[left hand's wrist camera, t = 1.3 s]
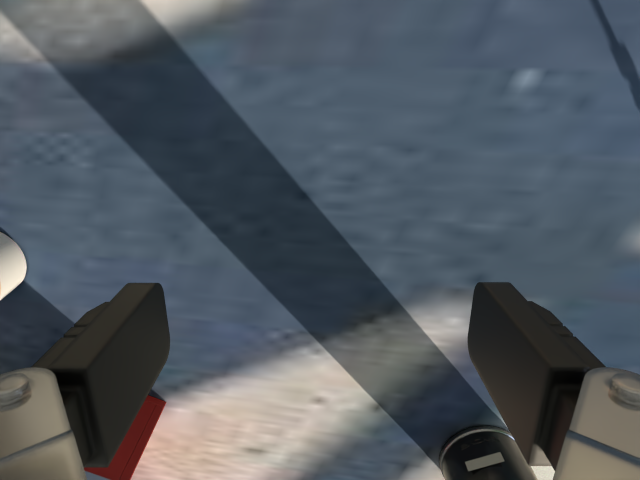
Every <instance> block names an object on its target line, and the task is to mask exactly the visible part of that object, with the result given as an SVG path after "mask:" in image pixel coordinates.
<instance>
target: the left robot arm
mask: <svg viewBox="0 0 640 480" xmlns="http://www.w3.org/2000/svg"><path fill="white" fill-rule="evenodd" d="M169 349H170V334H169V327H168V320H167V313H166V305H165V298H164V292H163V288H162V286H161V284H159V283H128V284H126V285H125V286H124V287H123V288H122V289H121V290H120V291H119V293H118V294H117V295H116V296H115V297H114V298H113V299H112V300H111V301H110V302H105V303H103V304H101V305H99V306H97V307H96V308H94V309H92V310H90V311H88V312H87V313H86V314H85V315H84V316H83V317H82V318H81V319H80V320H79V321H77V322H76V323H75V324H74V327H71V328H70V329H69V330H68V331H67V332H66V333H65V334H64V338H60V339H59V340H58V341H57V342H56V343H55V344H54V345H53V346H52V347H51V348H50V349H49V350H48V351H47V352H46V353H45V354H44V355H43V356H42V357H41V358H40V359H39V360H38V361H37V362H36V363H35V364H34V365H33V366H32V367H30V368H22V369H17V370H13V371H10V372H6V373H4V374H1V375H0V480H87V477H86V474H85V471H84V468H108V467H109V465H110V463H111V461H112V459H113V458H114V456H115V454H116V452H117V450H118V448H119V447H120V445H121V443H122V441H123V439H124V437H125V436H126V434H127V432H128V430H129V428H130V427H131V425H132V423H133V421H134V419H135V417H136V416H137V414H138V412H139V410H140V408H141V407H142V405H143V403H144V401H145V399H146V397H147V396H148V394H149V392H150V390H151V388H152V387H153V385H154V383H155V381H156V379H157V377H158V376H159V374H160V372H161V370H162V368H163V366H164V365H165V363H166V361H167V358H168V355H169ZM468 350H469V355H470V358H471V361H472V363H473V364H474V366H475V368H476V370H477V372H478V374H479V376H480V377H481V379H482V381H483V383H484V385H485V387H486V388H487V390H488V392H489V394H490V396H491V398H492V399H493V401H494V403H495V405H496V407H497V409H498V411H499V412H500V414H501V416H502V418H503V420H504V422H505V423H506V425H507V427H508V429H509V431H510V432H508V431H506V430H504V429H502V428H499V427H494V426H476V427H472V428H468V429H465V430H463V431H461V432H459V433H457V434H456V435H454V436H453V437H452V438H450V439H449V440H448V441H447V443H446V444H445V445H444V447H443V448H442V450H441V453H440V457H439V464H440V468H441V471H442V474H443V476H444V478H445V480H538V479H537V477H536V476H535V474H534V472H533V470H532V468H531V466H552V467H553V469H554V470H555V474H554V477H553V480H640V375H639V374H636V373H634V372H630V371H627V370H623V369H618V368H610V367H605V366H604V365H603V364H602V363H601V362H600V361H599V360H598V359H597V358H596V357H595V356H594V355H593V354H592V353H591V352H590V351H589V350H588V349H587V348H586V347H585V346H584V345H583V344H582V343H581V342H580V341H579V340H578V339H577V338H576V337H573V334H572V333H571V332H570V331H569V330H568V329H567V328H566V327H565V326H563V324H562V323H561V322H560V321H559V320H558V319H557V318H556V317H555V316H554V315H553V314H552V313H551V312H550V311H548V310H547V309H545V308H543V307H541V306H539V305H538V304H536V303H534V302H532V301H527V300H526V299H525V298H524V297H523V296H522V295H521V294H520V293H519V292H518V291H517V289H516V288H515V287H514V286H513V285H512V284H511V283H509V282H479V283H477V285H476V286H475V289H474V295H473V302H472V310H471V317H470V324H469V332H468Z"/></svg>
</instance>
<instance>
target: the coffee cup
mask: <svg viewBox="0 0 640 480" xmlns="http://www.w3.org/2000/svg"><path fill="white" fill-rule="evenodd" d="M25 274H26V260H25V257H24V254H23V252H22V251H21V249H20V248H19V246H18V245H17V244H16V243H15V242H14V241H13V240H12V239H11V238H9V237H8V236H7V235H5V234H3V233H1V232H0V301H1V300H2V299H3V298H4V297H5V296H7V295H8V294H9V293H10V292H11V291H12V290H14V289H15V288H16V287H17V286H18V285H19V284H20V283H21V282H22V281H23V279H24V277H25Z"/></svg>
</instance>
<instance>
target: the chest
mask: <svg viewBox="0 0 640 480" xmlns="http://www.w3.org/2000/svg"><path fill="white" fill-rule="evenodd" d="M165 404H166V402H165V401H162V400H160V399H157V398H155V397H152V396H149V395H148V396H147V397H146V399H145V401H144V403H143V405H142V407H141V408H140V410H139V412H138V414H137V416H136V417H135V419H134V421H133V423H132V425H131V427H130V428H129V430H128V432H127V434H126V436H125V437H124V439H123V441H122V443H121V445H120V447H119V448H118V450H117V452H116V454H115V456H114V458H113V459H112V461H111V463H110V465H109V467H108V468H84V471H87V472H90V473H93V474H96V475H99V476H101V477H104V478H107V479H110V480H130V479H131V477H132V475H133V473H134V471H135V468H136V466H137V464H138V462H139V460H140V458H141V456H142V453H143V451H144V449H145V447H146V445H147V443H148V441H149V438H150V436H151V434H152V432H153V430H154V428H155V426H156V424H157V421H158V419H159V417H160V415H161V413H162V411H163V409H164V406H165Z"/></svg>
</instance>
